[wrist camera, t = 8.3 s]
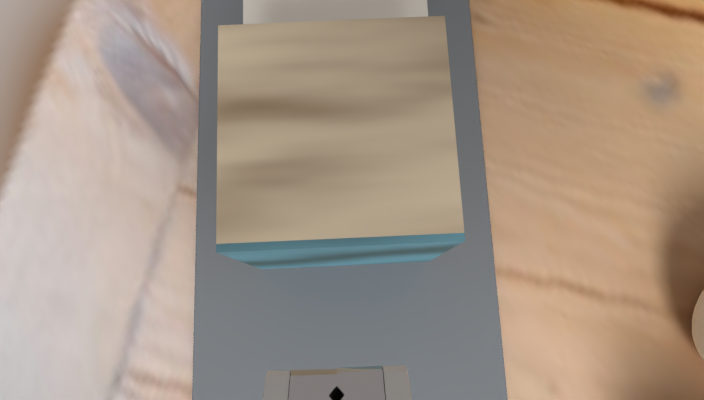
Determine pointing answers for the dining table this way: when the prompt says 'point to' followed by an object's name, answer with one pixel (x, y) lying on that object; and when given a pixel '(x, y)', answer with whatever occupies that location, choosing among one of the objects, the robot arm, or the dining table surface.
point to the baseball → (699, 325)
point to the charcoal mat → (349, 280)
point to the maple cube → (336, 143)
